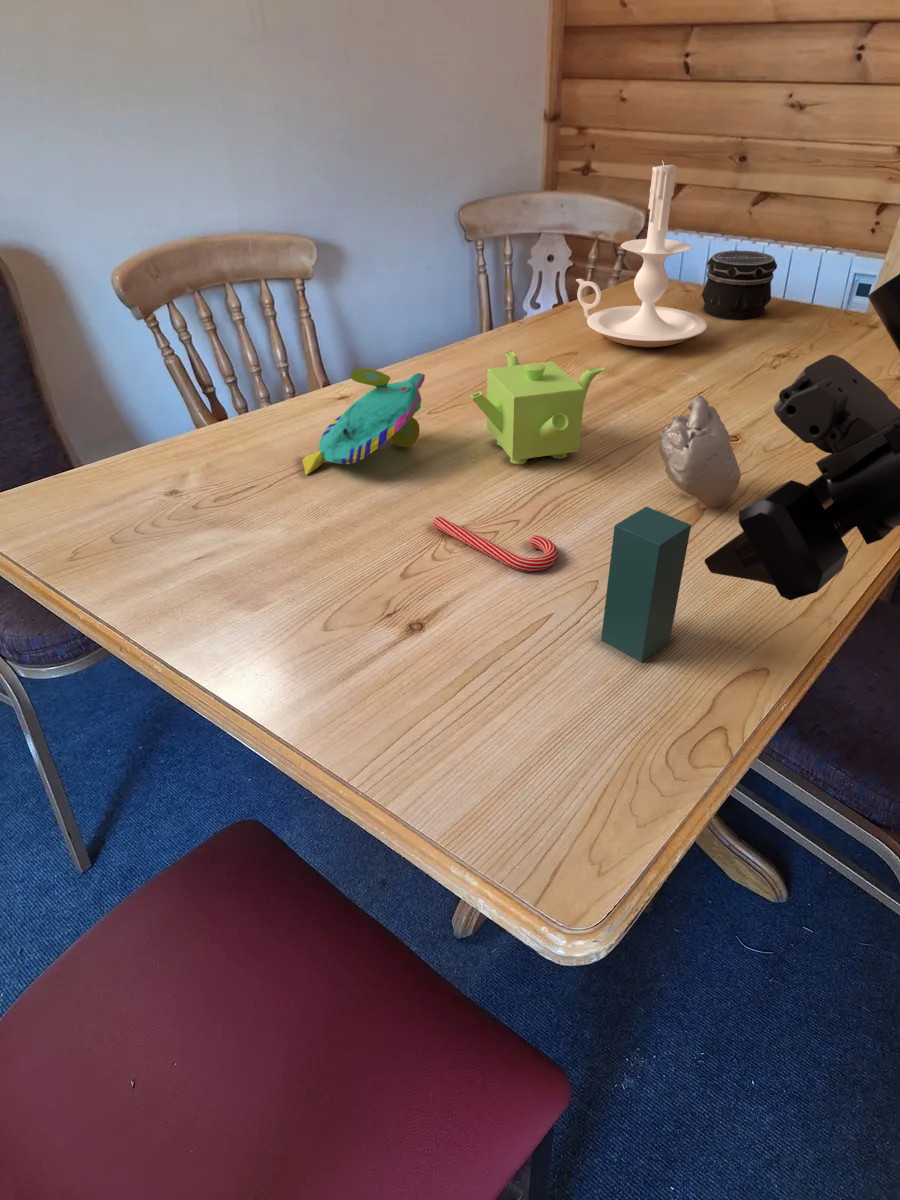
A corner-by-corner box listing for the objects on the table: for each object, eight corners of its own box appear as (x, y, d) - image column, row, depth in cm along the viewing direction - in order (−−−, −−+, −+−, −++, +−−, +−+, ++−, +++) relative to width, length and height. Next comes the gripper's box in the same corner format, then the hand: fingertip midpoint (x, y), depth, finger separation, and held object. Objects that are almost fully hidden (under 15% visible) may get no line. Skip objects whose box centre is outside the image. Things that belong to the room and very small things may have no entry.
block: (670, 640, 70) (691, 524, 63) (641, 662, 67) (660, 545, 60) (629, 619, 72) (646, 506, 65) (600, 640, 70) (614, 525, 63)
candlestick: (600, 313, 152) (614, 149, 136) (722, 334, 140) (754, 157, 123) (544, 341, 139) (552, 163, 123) (673, 367, 127) (702, 173, 110)
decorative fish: (393, 325, 101) (422, 360, 89) (438, 402, 108) (470, 443, 96) (269, 408, 102) (280, 453, 90) (322, 478, 110) (339, 528, 98)
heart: (644, 515, 87) (680, 417, 80) (639, 476, 95) (671, 383, 87) (733, 533, 87) (776, 436, 80) (720, 493, 95) (759, 401, 87)
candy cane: (467, 510, 90) (467, 498, 89) (569, 557, 81) (570, 545, 80) (429, 529, 87) (429, 517, 86) (531, 581, 78) (531, 568, 77)
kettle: (505, 419, 111) (508, 340, 104) (600, 437, 106) (609, 355, 99) (457, 460, 100) (456, 375, 94) (560, 483, 95) (567, 394, 88)
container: (721, 323, 145) (732, 267, 139) (687, 305, 155) (695, 252, 149) (781, 317, 148) (794, 261, 142) (743, 299, 158) (753, 247, 152)
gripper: (949, 293, 49) (751, 410, 62) (814, 368, 39) (610, 489, 52) (1036, 446, 49) (820, 530, 62) (923, 561, 39) (693, 633, 52)
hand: (741, 541), depth 57 cm, fingers open, 9 cm apart
